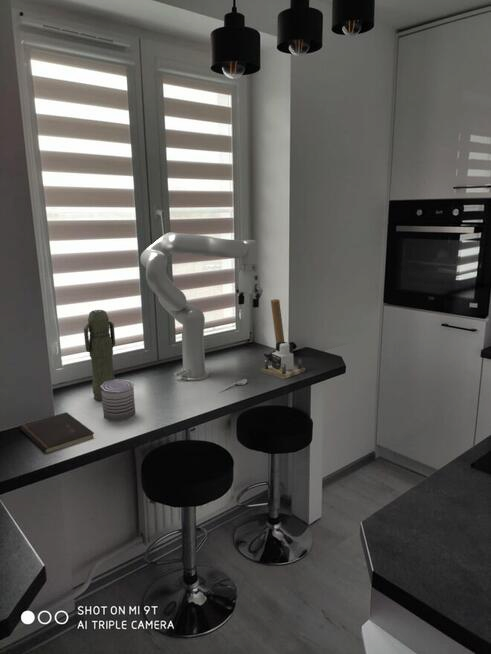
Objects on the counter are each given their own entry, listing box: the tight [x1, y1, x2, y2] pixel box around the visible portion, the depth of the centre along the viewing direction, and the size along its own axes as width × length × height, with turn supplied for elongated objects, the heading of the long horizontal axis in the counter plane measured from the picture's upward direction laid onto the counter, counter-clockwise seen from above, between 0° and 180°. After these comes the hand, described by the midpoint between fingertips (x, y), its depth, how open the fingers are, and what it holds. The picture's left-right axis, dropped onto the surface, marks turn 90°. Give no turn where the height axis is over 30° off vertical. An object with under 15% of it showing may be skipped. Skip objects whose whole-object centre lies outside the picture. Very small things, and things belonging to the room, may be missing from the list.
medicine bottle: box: [271, 341, 294, 372], centre depth 220 cm, size 7×7×12 cm
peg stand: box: [260, 358, 306, 380], centre depth 221 cm, size 14×14×6 cm
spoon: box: [214, 378, 248, 394], centre depth 203 cm, size 4×21×2 cm, turn 136°
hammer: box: [263, 298, 297, 361], centre depth 239 cm, size 20×5×30 cm, turn 139°
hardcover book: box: [20, 411, 95, 454], centre depth 164 cm, size 16×23×2 cm
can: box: [100, 378, 136, 423], centre depth 176 cm, size 11×11×12 cm
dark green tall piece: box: [83, 309, 116, 402], centre depth 191 cm, size 9×12×35 cm
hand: (248, 305), depth 223 cm, fingers open, 9 cm apart
